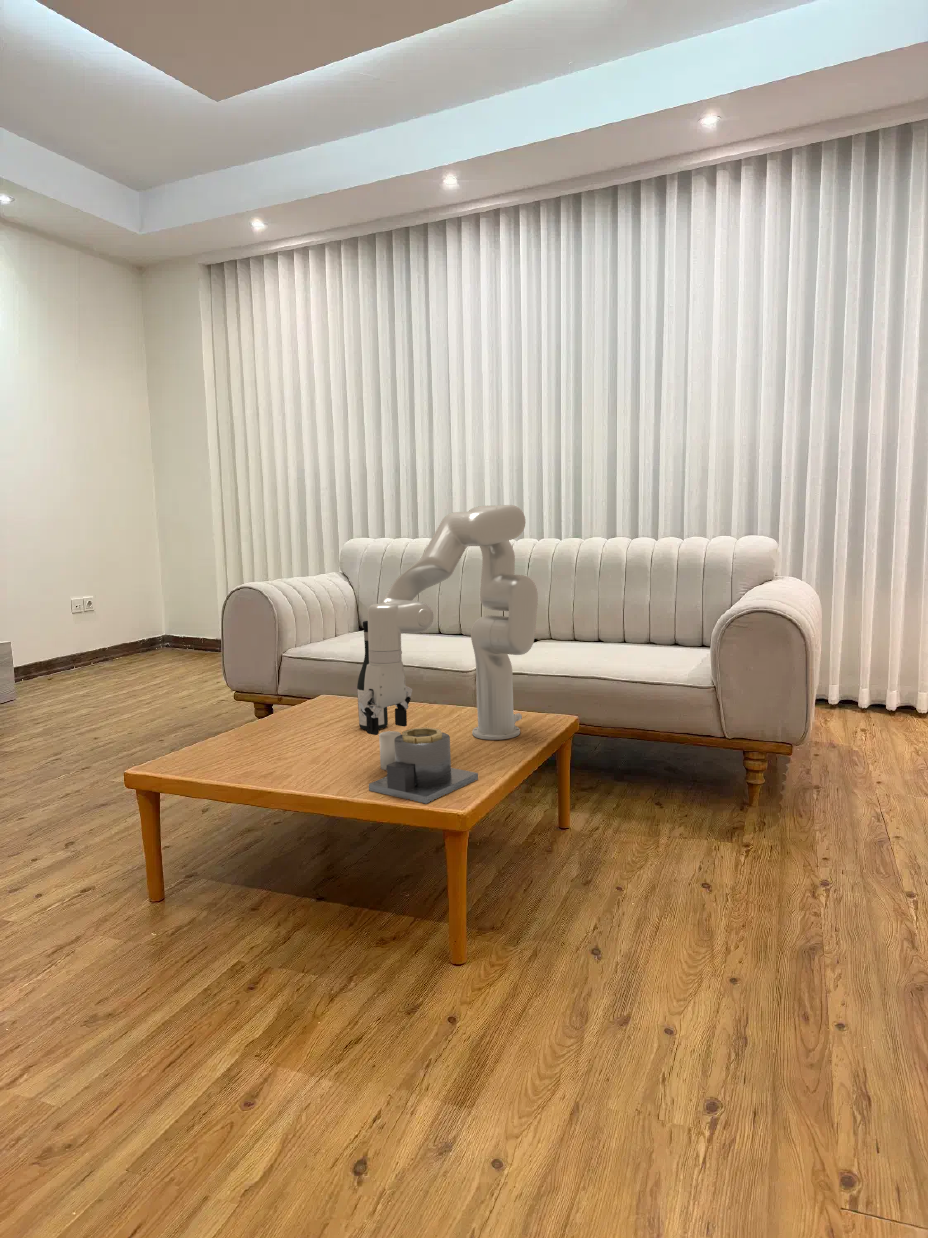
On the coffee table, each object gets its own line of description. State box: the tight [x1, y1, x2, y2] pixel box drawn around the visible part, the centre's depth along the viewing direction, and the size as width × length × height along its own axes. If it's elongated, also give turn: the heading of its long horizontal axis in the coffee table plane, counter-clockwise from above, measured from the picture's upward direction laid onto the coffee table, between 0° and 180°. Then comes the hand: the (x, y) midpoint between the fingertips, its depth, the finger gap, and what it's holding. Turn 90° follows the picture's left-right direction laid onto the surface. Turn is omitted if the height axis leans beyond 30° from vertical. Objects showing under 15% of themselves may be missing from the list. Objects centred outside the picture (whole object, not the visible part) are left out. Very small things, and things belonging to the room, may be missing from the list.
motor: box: [368, 726, 479, 805], centre depth 182 cm, size 18×16×12 cm
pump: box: [378, 730, 402, 771], centre depth 195 cm, size 5×7×8 cm
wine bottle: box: [356, 620, 389, 731], centre depth 232 cm, size 8×8×30 cm
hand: (387, 729), depth 195 cm, fingers open, 9 cm apart
